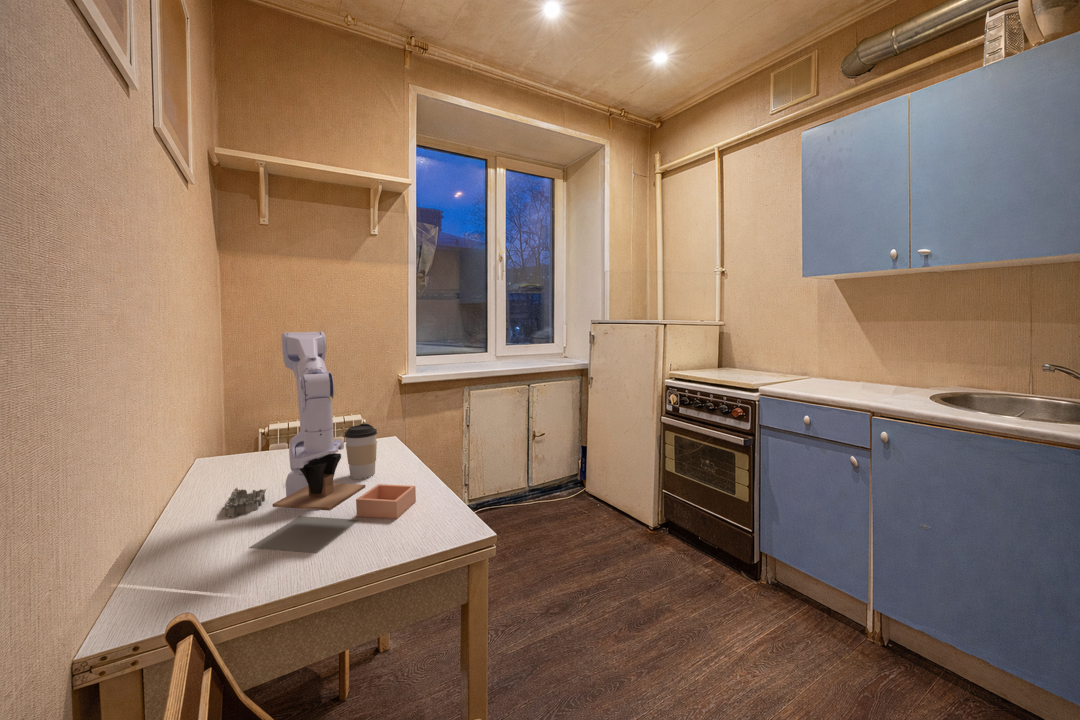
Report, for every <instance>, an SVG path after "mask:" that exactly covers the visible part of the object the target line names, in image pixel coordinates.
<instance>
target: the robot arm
mask: <svg viewBox="0 0 1080 720" xmlns="http://www.w3.org/2000/svg"><path fill="white" fill-rule="evenodd" d="M326 339H327V337H326V334H325V332H323V330H322V331H306V332H305V331H302V332H299V331H297V332H292V331H291V332H287V331H283V333H282V334H281V352H282V358H283V359H282V360H283V361H282V362H283V363H284V367H286V368H288V369H290V370H292V372H293V374H294V377H295V379H296V381H295V382H296V392H297V394H296V395H297V403H298V404H297V405H298V414H299V415H298V416H299V427H300V431H299V432H298V433H297V434H295V435H294V436H293V437H292V438H290V441H289V445H288V446H289V447H288V449H289V450H288V452H289V454H288V455H289V467H290V472H289V473H288V474H287V477H286V479H285V497H287V496H289V495H291V494H292V493H294V492H296V491H298V490H300V489H302V488H304V487H306V486H308V485H309V488H310V491H311V494H321V493H322V487H323V474H333V479H334V477H335V473H336V470H337V467H338V465H339V462H340V461H341V459H342V454H341V453H339V450H340V451H341V450H344V448H345V446H344V445H345V442H344V440H341V439H339V440H338V439H336V440H334V423H333V422H334V420H333V399H334V395H335V381H334V376H333V374H332V371H328V370H327V365H326V363H325V361H326V360H325V359H326V352H327V340H326ZM284 509H285V510H287V509H288V510H300V511H302V510H303V511H314V510H313V509H297V508H284ZM315 511H317V512H318V511H319V510H315Z"/></svg>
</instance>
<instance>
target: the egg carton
mask: <svg viewBox="0 0 1080 720" xmlns="http://www.w3.org/2000/svg"><path fill="white" fill-rule="evenodd" d="M266 491H267V488H264V489H261V488H259V490H256V489H253V490H252V492H249V493H248V492H247V490H246V489H244V488H243V489H238V487H236V488H234V489H233V491H232V492H231V494H230V496H229V497H228V498H227V500H226V501H225V502H224V505H223V507H222V510H225V515H229V516H234V517H235V516H237V514H238V515H241V513H245V514H250V513H253V512H255V511H258V510H259V508H260V507H261V506H263V502H265V501H266V495H265V494H266ZM245 514H244V515H245ZM229 516H228V517H229Z"/></svg>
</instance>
